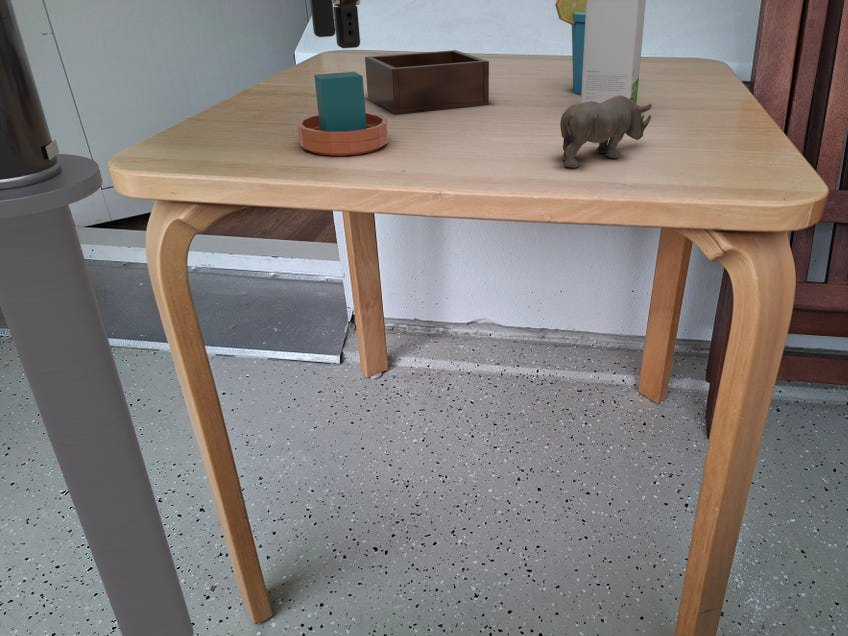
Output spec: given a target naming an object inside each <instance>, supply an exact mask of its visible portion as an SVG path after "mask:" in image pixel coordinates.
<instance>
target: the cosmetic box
mask: <svg viewBox="0 0 848 636" xmlns="http://www.w3.org/2000/svg"><path fill="white" fill-rule="evenodd" d="M646 2H647V0H586V17H585V36H584V55H583V74H582V93H581V94H580V103H585V102H589V101H594V102H597V103H602V102H604V101H606V100H608V99H611V98H613V97H615V96H619V95H621V96H625V97H627V98H628V99H630V98H631V97H632V98H633V99H634V103H635V104H636V105H638V94H639V82H640V71H641V70H640V69H641V61H642V59H641V58H642V51H643V49H642V48H643V38H644V37H643V35H644V26H645V25H644V24H645V13H646Z"/></svg>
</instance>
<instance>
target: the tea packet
mask: <svg viewBox="0 0 848 636" xmlns="http://www.w3.org/2000/svg"><path fill="white" fill-rule="evenodd" d="M313 77H314V85H315V94H316V104H317V111H318V113H317V114H319V124H320V131H354V130H363V129H367V126H366V113H367V112H366V102H365V89H364V76H363V75H362V74H360V73H358V72H356V71H343V72H332V73H319V74H314V76H313ZM365 112H366V113H365Z"/></svg>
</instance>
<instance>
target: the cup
mask: <svg viewBox="0 0 848 636" xmlns="http://www.w3.org/2000/svg"><path fill="white" fill-rule="evenodd" d="M555 9H556V12H557V16H558V19H559V20H561V21H562V22H565V23H566V24H568V25H571V51H572V52H571V53H572V55H571V56H572V91H573V92H574V93H575V94H578V95H581V93H582V74H583V55H584V36H585V17H586V0H556V2H555Z"/></svg>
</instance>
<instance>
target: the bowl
mask: <svg viewBox="0 0 848 636" xmlns="http://www.w3.org/2000/svg"><path fill="white" fill-rule="evenodd" d="M365 113H366V126H367V129H363V130H354V131H320V124H319V114H318V113H317V114H313V115H309V116H307V117H304V118H301V119H300V120H299V121H298V122H297V124H296V127H297V136H298V142H299V145H300V147H302V148H303V149H304V150H306V151H309V152H311V153H314V154H316V155H322V156H333V157H334V156H335V157H336V156H337V157H342V156H343V157H344V156H346V157H347V156H356V155H362V154H368V153H371V152H375V151H377V150H379V149H381V148H382V147H383V146H385V145H387V144H388V142H389V130H388V118H386V117H384V116H383V115H381V114H378V113H372V112H366V111H365Z"/></svg>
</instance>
